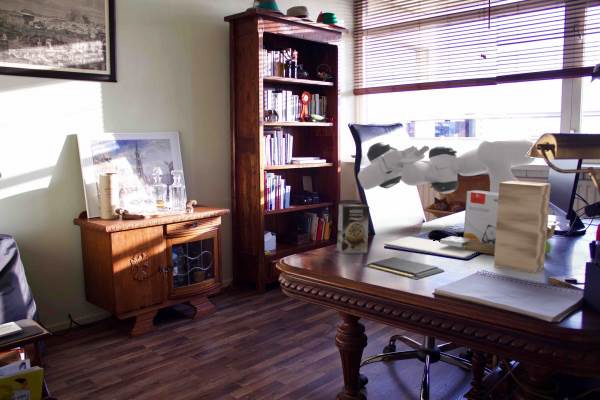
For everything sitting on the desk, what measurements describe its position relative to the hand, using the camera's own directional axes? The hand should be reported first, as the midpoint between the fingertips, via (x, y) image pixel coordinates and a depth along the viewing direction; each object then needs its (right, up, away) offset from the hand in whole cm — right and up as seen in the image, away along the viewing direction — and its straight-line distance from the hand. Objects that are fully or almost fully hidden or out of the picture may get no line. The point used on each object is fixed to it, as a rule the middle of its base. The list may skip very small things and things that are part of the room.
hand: (421, 147), depth 191 cm
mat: (+4, -36, -3) cm, 36 cm away
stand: (+23, -40, -29) cm, 54 cm away
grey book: (-14, -41, -34) cm, 55 cm away
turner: (+16, -34, -10) cm, 39 cm away
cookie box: (-27, -37, -12) cm, 47 cm away
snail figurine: (+38, -38, -13) cm, 56 cm away
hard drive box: (+23, -37, -1) cm, 43 cm away
